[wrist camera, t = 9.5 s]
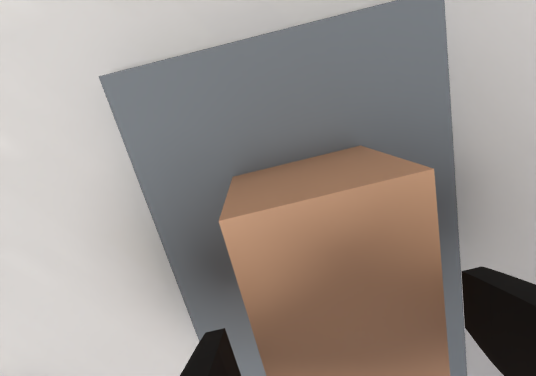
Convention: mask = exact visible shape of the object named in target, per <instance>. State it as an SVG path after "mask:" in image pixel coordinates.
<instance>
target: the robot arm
mask: <svg viewBox="0 0 536 376" xmlns="http://www.w3.org/2000/svg"><path fill="white" fill-rule="evenodd" d="M462 285H463V302H464V318H465V328H466V329H467V331H468V332H469V333H470V335H471V336H472V337H473V339H474V340H475V341H476V343H477V344H478V345H479V347H480V348H481V349H482V351H483V352H484V353H485V354H486V356H487V357H488V358H489V359H490V361H491V362H492V363H493V364H494V365H495V366H496V367H497V368H498V370H499V371H500V372H501V373H502V374H503V375H504V376H536V285H535V284H532V283H529V282H527V281H524V280H521V279H518V278H515V277H512V276H510V275H507V274H504V273H501V272H498V271H495V270H492V269H489V268H485V267H478V268H474V269H470V270H466V271H462ZM180 376H241V373H240V371H239V368H238V365H237V362H236V359H235V356H234V353H233V350H232V347H231V344H230V341H229V338H228V336H227V333H226V330H225V328H223V329H218V330H214V331H210V332H206V333H205V334H204V335H203V337H202V339H201V340H200V342H199V344H198V345H197V347H196V349H195V351H194V352H193V354H192V356H191V358H190V359H189V361H188V363H187V365H186V366H185V368H184V370H183V371H182V373H181V375H180Z"/></svg>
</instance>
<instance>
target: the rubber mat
mask: <svg viewBox="0 0 536 376" xmlns="http://www.w3.org/2000/svg"><path fill="white" fill-rule="evenodd" d="M99 79H100V81H101V84H102V87H103V89H104V92H105V94H106V97H107V100H108V102H109V105H110V108H111V110H112V113H113V115H114V118H115V121H116V123H117V126H118V129H119V131H120V134H121V136H122V139H123V142H124V144H125V147H126V150H127V152H128V155H129V158H130V160H131V163H132V165H133V168H134V171H135V173H136V176H137V179H138V181H139V184H140V186H141V189H142V192H143V194H144V197H145V200H146V202H147V205H148V208H149V210H150V213H151V215H152V218H153V221H154V223H155V226H156V229H157V231H158V234H159V236H160V239H161V242H162V244H163V247H164V250H165V252H166V255H167V257H168V260H169V263H170V265H171V268H172V271H173V273H174V276H175V279H176V281H177V284H178V286H179V289H180V292H181V294H182V297H183V300H184V302H185V305H186V307H187V310H188V313H189V315H190V318H191V321H192V323H193V326H194V329H195V331H196V334H197V336H198V339H199V342H200V340H201V339H202V337H203V335H204V334H205V333H206V332H210V331H214V330H218V329H223V328H225V330H226V333H227V336H228V338H229V341H230V344H231V347H232V350H233V353H234V356H235V359H236V362H237V365H238V368H239V371H240V373H241V376H266V373H265V370H264V367H263V363H262V360H261V357H260V354H259V350H258V347H257V344H256V341H255V337H254V334H253V331H252V328H251V324H250V321H249V318H248V315H247V311H246V308H245V305H244V302H243V299H242V295H241V292H240V289H239V286H238V282H237V279H236V276H235V273H234V269H233V266H232V263H231V260H230V256H229V253H228V250H227V247H226V243H225V240H224V237H223V234H222V230H221V227H220V224H219V218H220V215H221V212H222V209H223V206H224V203H225V199H226V196H227V193H228V190H229V187H230V184H231V181H232V177H234V176H238V175H242V174H246V173H250V172H254V171H258V170H263V169H267V168H271V167H275V166H279V165H283V164H287V163H291V162H295V161H299V160H303V159H307V158H311V157H316V156H320V155H324V154H328V153H332V152H336V151H340V150H344V149H348V148H352V147H356V146H360V145H361V146H364V147H367V148H370V149H373V150H376V151H380V152H383V153H386V154H389V155H392V156H395V157H398V158H402V159H405V160H408V161H411V162H414V163H417V164H421V165H424V166H427V167H430V168H433V169H434V174H435V187H436V200H437V213H438V225H439V238H440V251H441V264H442V277H443V289H444V302H445V315H446V328H447V341H448V354H449V366H450V376H467V367H466V350H465V333H464V317H463V300H462V284H461V267H460V251H459V234H458V218H457V201H456V185H455V168H454V152H453V135H452V119H451V102H450V86H449V69H448V53H447V36H446V20H445V3H444V0H396V1H392V2H389V3H385V4H381V5H377V6H373V7H369V8H365V9H361V10H357V11H353V12H349V13H345V14H342V15H338V16H334V17H330V18H326V19H322V20H318V21H314V22H310V23H306V24H302V25H298V26H295V27H291V28H287V29H283V30H279V31H275V32H271V33H267V34H263V35H259V36H255V37H251V38H248V39H244V40H240V41H236V42H232V43H228V44H224V45H220V46H216V47H212V48H208V49H204V50H201V51H197V52H193V53H189V54H185V55H181V56H177V57H173V58H169V59H165V60H161V61H157V62H154V63H150V64H146V65H142V66H138V67H134V68H130V69H126V70H122V71H118V72H114V73H110V74H107V75H103V76H99Z"/></svg>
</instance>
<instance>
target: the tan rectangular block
mask: <svg viewBox="0 0 536 376" xmlns="http://www.w3.org/2000/svg"><path fill="white" fill-rule="evenodd" d="M219 224H220V227H221V230H222V234H223V237H224V240H225V243H226V247H227V250H228V253H229V256H230V260H231V263H232V266H233V269H234V273H235V276H236V279H237V282H238V286H239V289H240V292H241V295H242V299H243V302H244V305H245V308H246V311H247V315H248V318H249V321H250V324H251V328H252V331H253V334H254V337H255V341H256V344H257V347H258V350H259V354H260V357H261V360H262V363H263V367H264V370H265V373H266V376H450V366H449V354H448V341H447V328H446V315H445V302H444V289H443V277H442V264H441V251H440V238H439V225H438V213H437V200H436V187H435V174H434V169H433V168H430V167H427V166H424V165H421V164H417V163H414V162H411V161H408V160H405V159H402V158H398V157H395V156H392V155H389V154H386V153H383V152H380V151H376V150H373V149H370V148H367V147H364V146H361V145H360V146H356V147H352V148H348V149H344V150H340V151H336V152H332V153H328V154H324V155H320V156H316V157H311V158H307V159H303V160H299V161H295V162H291V163H287V164H283V165H279V166H275V167H271V168H267V169H263V170H258V171H254V172H250V173H246V174H242V175H238V176H234V177H232V181H231V184H230V187H229V190H228V193H227V196H226V199H225V203H224V206H223V209H222V212H221V215H220V218H219Z"/></svg>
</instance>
